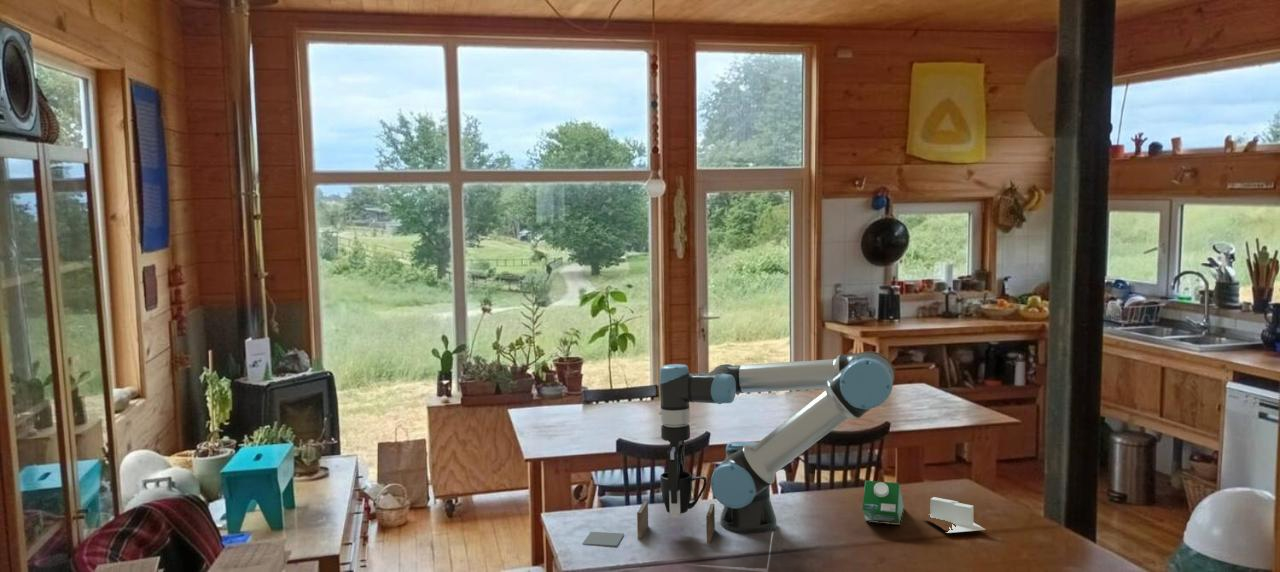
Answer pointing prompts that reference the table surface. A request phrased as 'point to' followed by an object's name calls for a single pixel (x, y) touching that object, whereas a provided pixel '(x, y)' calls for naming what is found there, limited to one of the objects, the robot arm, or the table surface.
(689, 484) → the mug
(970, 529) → the napkin holder
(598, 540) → the coaster
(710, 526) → the rack
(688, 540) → the table surface
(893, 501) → the milk carton
